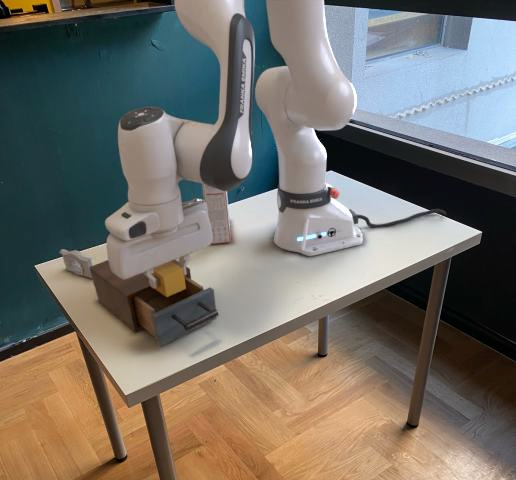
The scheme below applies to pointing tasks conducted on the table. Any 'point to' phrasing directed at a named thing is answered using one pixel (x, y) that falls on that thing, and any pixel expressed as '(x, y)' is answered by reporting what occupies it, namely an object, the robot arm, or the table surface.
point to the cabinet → (120, 291)
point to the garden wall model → (82, 261)
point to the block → (170, 278)
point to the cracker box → (217, 214)
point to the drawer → (174, 311)
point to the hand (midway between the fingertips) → (168, 280)
